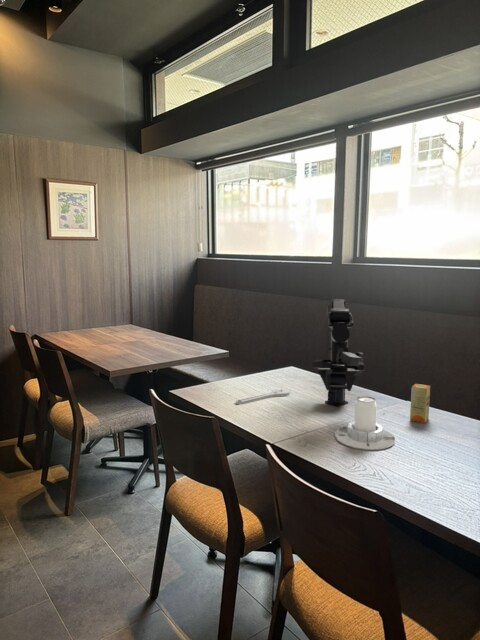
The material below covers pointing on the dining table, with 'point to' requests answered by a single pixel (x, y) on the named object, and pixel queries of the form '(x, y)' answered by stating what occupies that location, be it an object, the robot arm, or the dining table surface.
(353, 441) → the rosette
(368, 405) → the can
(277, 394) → the adjustable wrench
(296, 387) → the dining table surface
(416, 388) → the shoe polish box
